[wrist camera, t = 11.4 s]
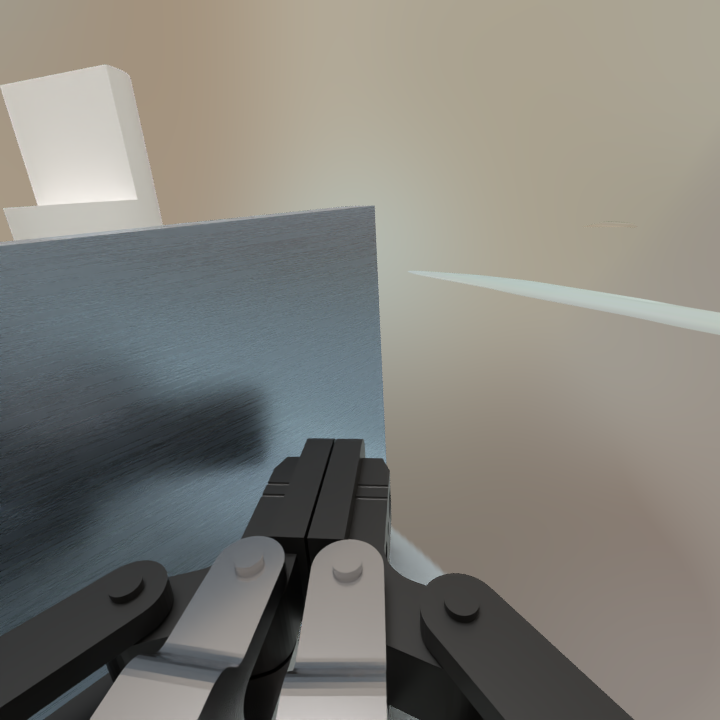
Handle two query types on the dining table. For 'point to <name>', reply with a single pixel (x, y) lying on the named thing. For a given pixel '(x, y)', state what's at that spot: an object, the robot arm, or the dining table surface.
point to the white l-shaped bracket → (81, 154)
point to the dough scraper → (172, 389)
